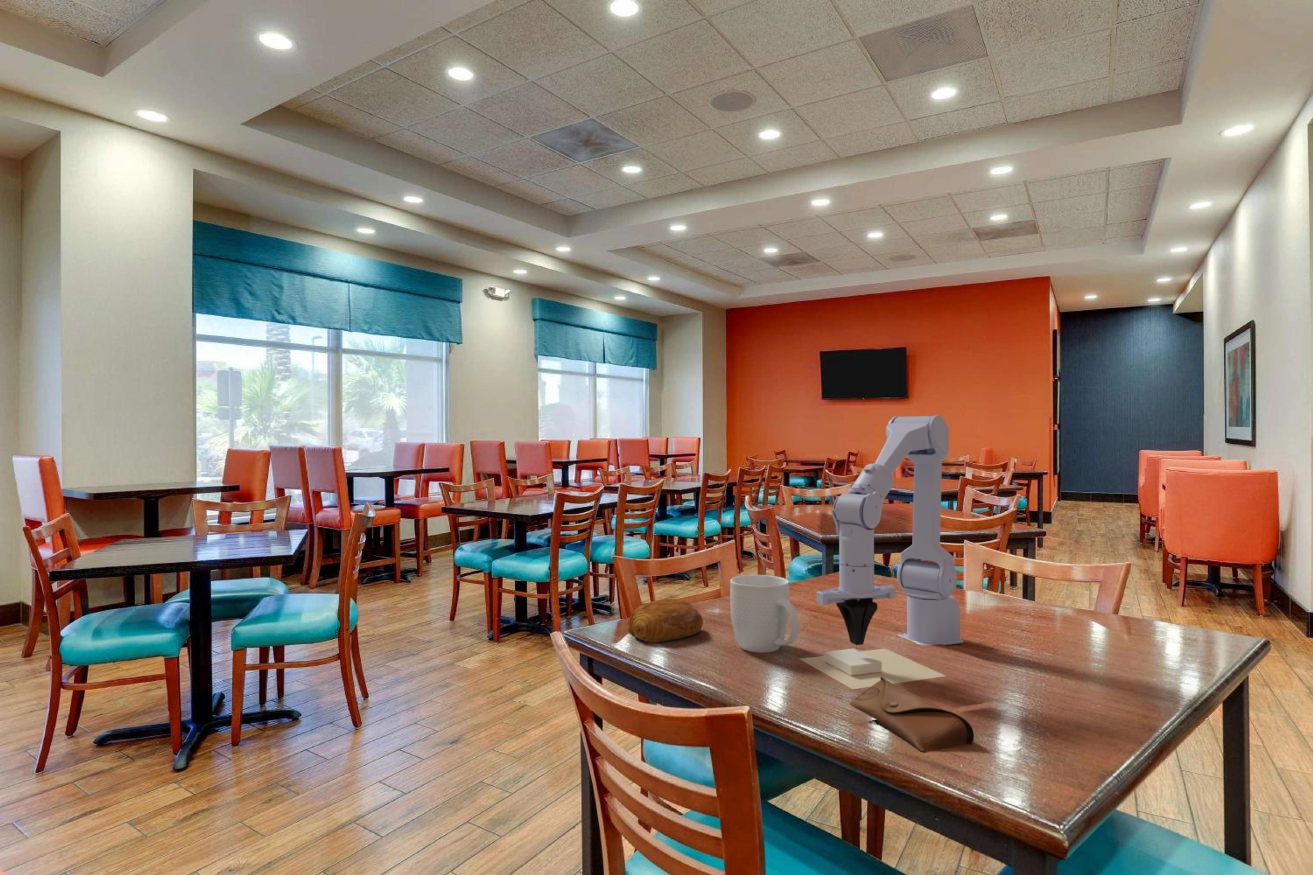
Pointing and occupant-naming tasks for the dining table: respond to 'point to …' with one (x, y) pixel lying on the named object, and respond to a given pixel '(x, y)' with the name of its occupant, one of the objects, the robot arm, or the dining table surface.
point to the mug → (762, 612)
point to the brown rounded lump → (665, 620)
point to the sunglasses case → (913, 717)
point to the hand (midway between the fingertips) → (856, 643)
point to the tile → (852, 662)
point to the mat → (892, 671)
